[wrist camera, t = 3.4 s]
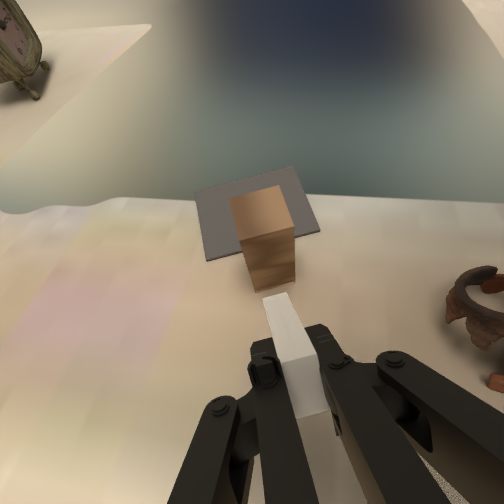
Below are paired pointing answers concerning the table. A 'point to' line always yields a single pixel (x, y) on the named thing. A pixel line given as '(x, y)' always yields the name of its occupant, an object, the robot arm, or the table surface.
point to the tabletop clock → (18, 47)
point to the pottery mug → (479, 312)
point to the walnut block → (265, 237)
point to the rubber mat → (217, 198)
